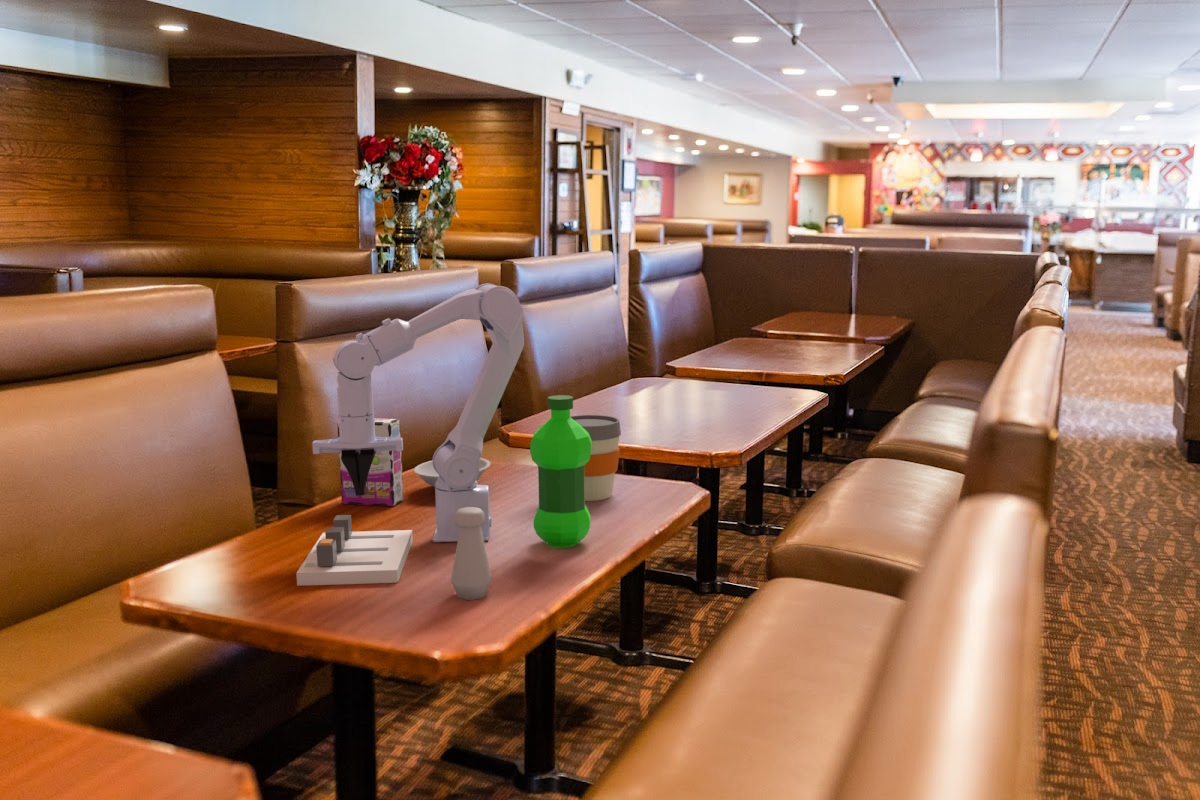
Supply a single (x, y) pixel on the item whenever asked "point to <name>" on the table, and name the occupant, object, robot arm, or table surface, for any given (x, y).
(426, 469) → the dish
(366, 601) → the table surface
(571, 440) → the plastic bottle
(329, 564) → the block
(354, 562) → the breaker panel
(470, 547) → the salt shaker
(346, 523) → the far breaker
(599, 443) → the reusable coffee cup
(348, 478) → the candy bar box
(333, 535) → the middle breaker
